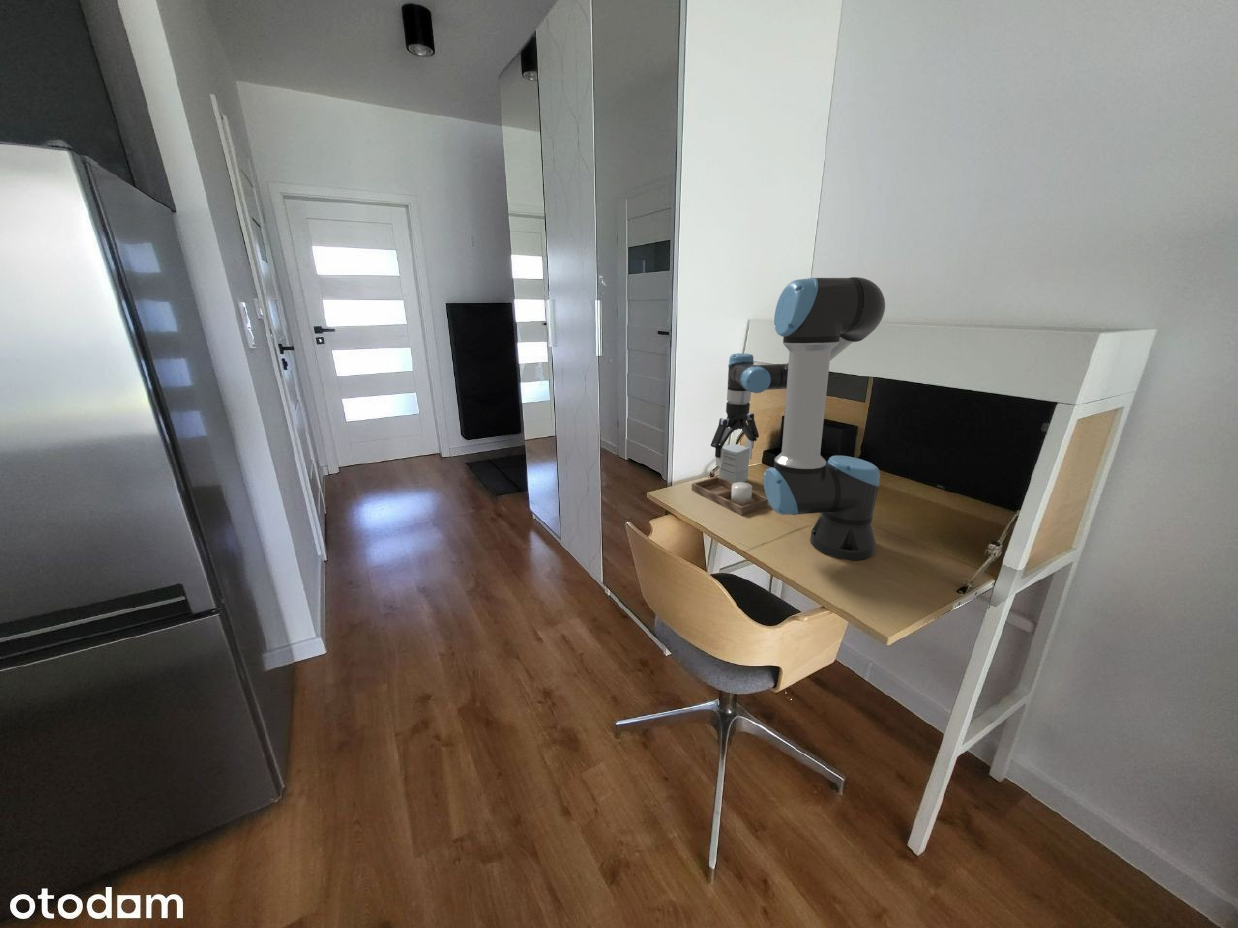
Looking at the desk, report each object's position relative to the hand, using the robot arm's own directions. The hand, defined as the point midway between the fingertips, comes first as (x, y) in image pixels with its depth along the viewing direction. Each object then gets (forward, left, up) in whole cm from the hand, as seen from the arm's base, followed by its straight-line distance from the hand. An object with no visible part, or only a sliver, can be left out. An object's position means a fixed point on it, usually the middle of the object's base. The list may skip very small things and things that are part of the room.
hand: (733, 462), depth 158 cm
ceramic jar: (-16, +12, -7) cm, 21 cm away
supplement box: (0, 0, -7) cm, 7 cm away
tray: (-10, +12, -7) cm, 17 cm away
